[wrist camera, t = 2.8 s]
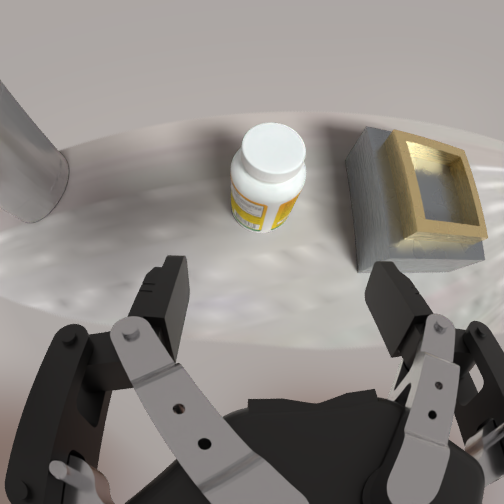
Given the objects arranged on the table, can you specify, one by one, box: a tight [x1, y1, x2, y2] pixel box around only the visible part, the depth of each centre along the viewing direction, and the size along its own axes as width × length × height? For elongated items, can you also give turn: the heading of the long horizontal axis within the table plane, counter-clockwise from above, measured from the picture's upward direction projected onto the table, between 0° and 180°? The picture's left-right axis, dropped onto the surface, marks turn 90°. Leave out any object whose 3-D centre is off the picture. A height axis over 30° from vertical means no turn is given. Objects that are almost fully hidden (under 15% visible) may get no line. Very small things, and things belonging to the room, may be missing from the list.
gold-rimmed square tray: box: [345, 126, 488, 273], centre depth 22 cm, size 12×12×8 cm
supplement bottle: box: [230, 123, 306, 233], centre depth 21 cm, size 5×5×10 cm
